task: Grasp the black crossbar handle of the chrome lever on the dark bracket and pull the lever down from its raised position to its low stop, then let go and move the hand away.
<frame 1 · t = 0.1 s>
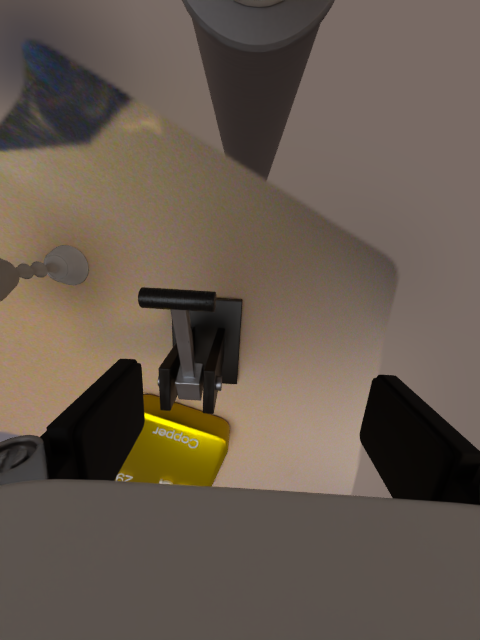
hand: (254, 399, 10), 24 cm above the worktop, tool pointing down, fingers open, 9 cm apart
element tile: (173, 441, 41), on the worktop
chalice: (69, 265, 33), on the worktop
bracket: (207, 339, 35), on the worktop
lever: (186, 349, 22), point 13 cm above the worktop, hinge at 25.0°
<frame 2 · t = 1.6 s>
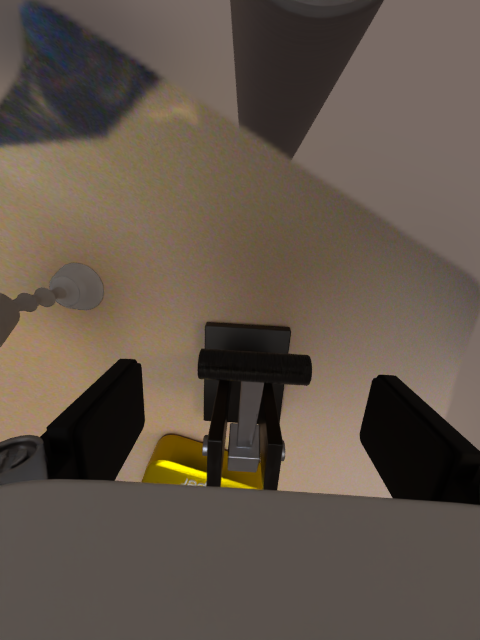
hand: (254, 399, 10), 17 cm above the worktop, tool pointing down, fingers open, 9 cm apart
element tile: (200, 485, 35), on the worktop
chalice: (80, 286, 27), on the worktop
bracket: (244, 373, 30), on the worktop
lever: (247, 418, 16), point 13 cm above the worktop, hinge at 25.0°
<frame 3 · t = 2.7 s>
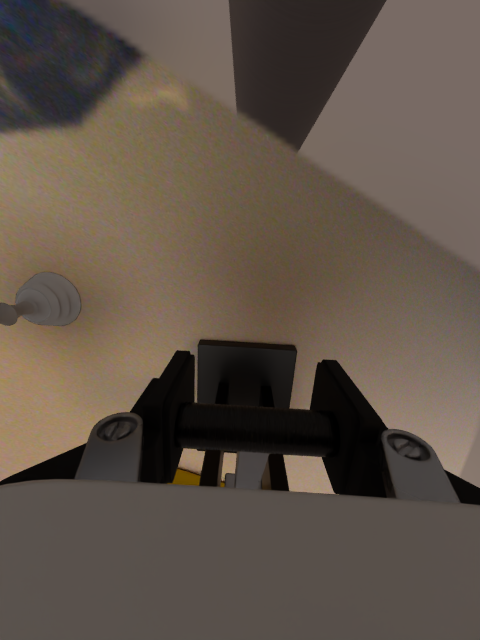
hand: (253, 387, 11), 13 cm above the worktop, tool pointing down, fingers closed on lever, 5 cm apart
element tile: (194, 519, 31), on the worktop
chalice: (54, 299, 23), on the worktop
bracket: (243, 397, 26), on the worktop
lever: (246, 479, 12), point 13 cm above the worktop, hinge at 25.0°, touching gripper
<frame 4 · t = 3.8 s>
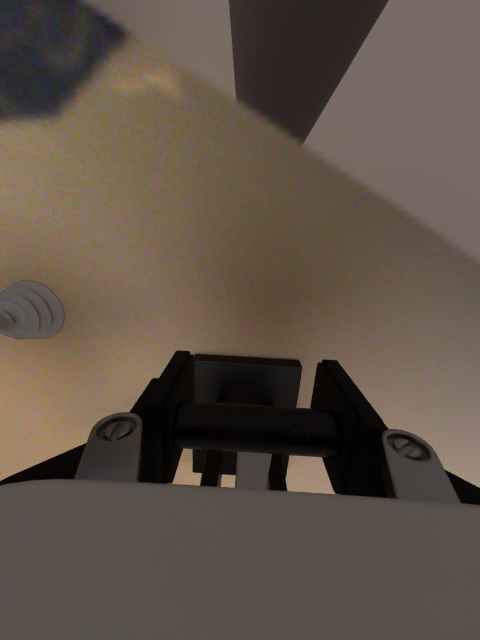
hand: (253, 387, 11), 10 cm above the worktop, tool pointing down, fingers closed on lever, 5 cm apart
chalice: (35, 310, 21), on the worktop
bracket: (243, 415, 24), on the worktop
lever: (246, 509, 11), point 12 cm above the worktop, hinge at 11.8°, touching gripper
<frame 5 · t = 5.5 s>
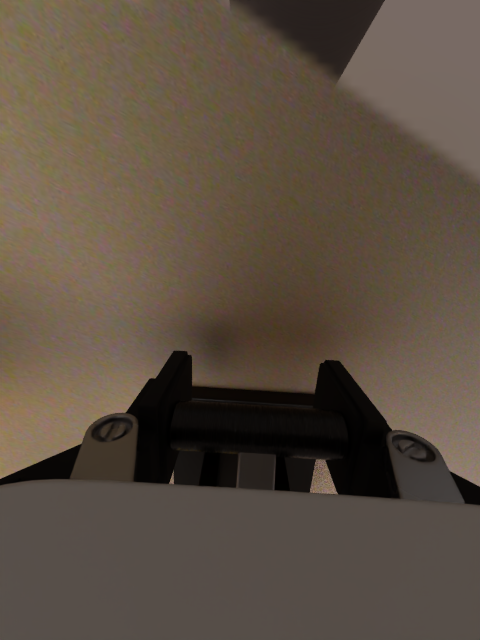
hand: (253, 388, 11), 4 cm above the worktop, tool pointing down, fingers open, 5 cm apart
bracket: (242, 464, 18), on the worktop
lever: (247, 613, 8), point 9 cm above the worktop, hinge at -21.8°
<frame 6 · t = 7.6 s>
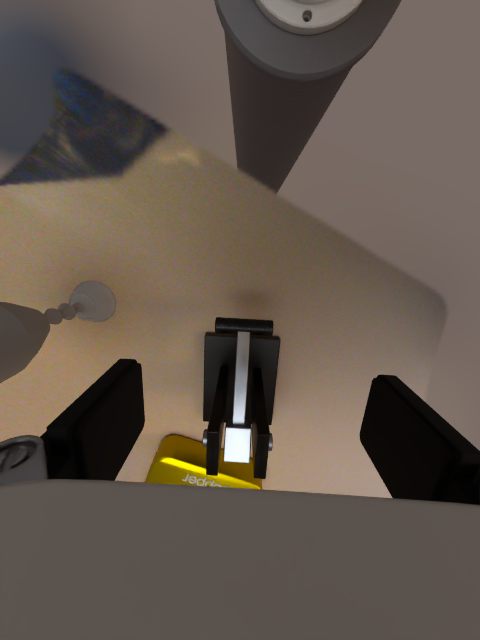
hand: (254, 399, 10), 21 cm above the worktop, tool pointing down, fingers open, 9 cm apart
element tile: (199, 483, 38), on the worktop
chalice: (95, 301, 31), on the worktop
bracket: (239, 378, 33), on the worktop
lever: (240, 385, 23), point 9 cm above the worktop, hinge at -21.8°
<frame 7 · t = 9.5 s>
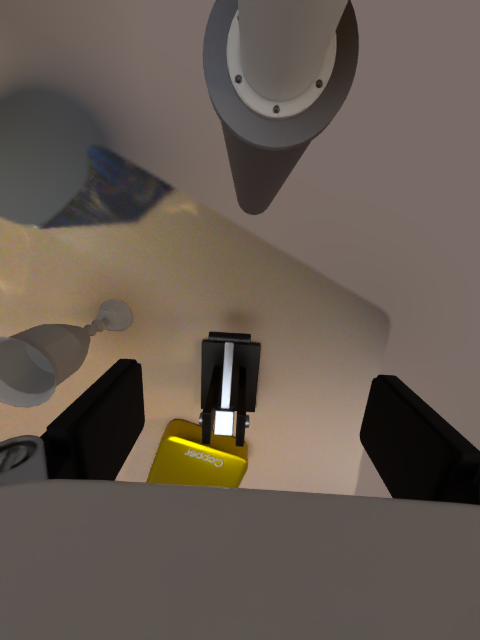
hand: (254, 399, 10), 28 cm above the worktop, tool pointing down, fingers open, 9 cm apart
element tile: (198, 459, 47), on the worktop
chalice: (116, 315, 39), on the worktop
bracket: (229, 375, 42), on the worktop
lever: (227, 381, 32), point 9 cm above the worktop, hinge at -21.8°
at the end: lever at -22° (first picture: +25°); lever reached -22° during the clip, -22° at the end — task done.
